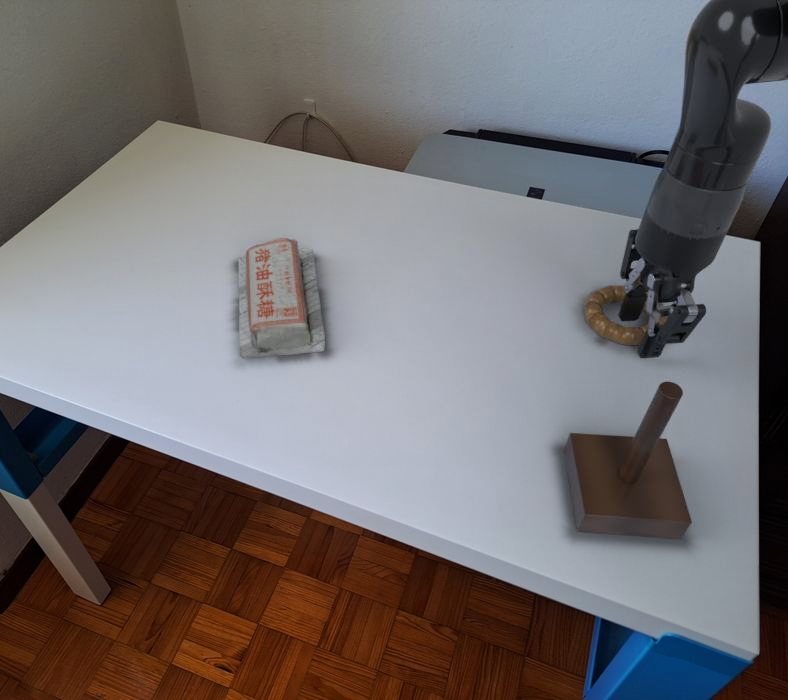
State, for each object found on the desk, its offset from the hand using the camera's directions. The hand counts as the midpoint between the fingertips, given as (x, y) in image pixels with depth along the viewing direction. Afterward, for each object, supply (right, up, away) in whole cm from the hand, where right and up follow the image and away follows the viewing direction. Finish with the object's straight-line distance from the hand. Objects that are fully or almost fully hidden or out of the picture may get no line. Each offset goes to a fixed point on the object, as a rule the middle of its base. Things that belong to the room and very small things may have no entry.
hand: (637, 336), depth 77 cm
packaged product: (-41, +4, +7) cm, 42 cm away
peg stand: (-8, -15, -13) cm, 21 cm away
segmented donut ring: (0, +3, +2) cm, 4 cm away
